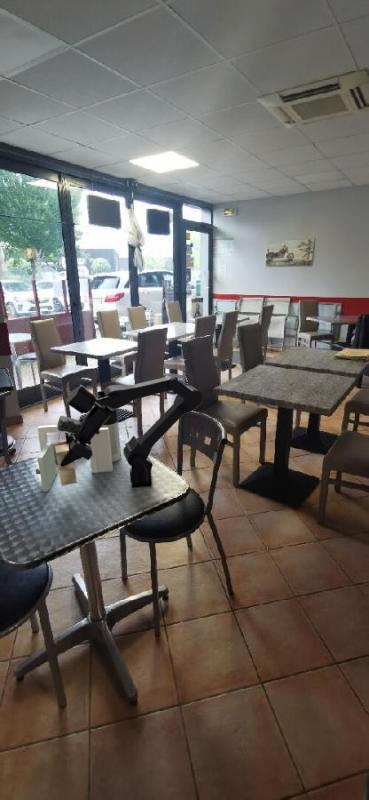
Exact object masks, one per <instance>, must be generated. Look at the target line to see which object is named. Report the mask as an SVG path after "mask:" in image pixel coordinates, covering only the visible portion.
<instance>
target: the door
mask: <svg viewBox="0 0 369 800" xmlns="http://www.w3.org/2000/svg"><path fill="white" fill-rule="evenodd" d="M53 444H54V443H53V441H48V442H47V444H46V445H45V447H44V448H43V450H42V452H41V451H40V453H39V455H38V456H37V463H38V468H37V469H35V474H36V475H40V481H41V486H42V491H43V492H49V490H50V488H51V487H52V484H53V482H54V480H55V478H56V477H57V474H58V471H57V465H56V463H55V457H54V451H53Z"/></svg>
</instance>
